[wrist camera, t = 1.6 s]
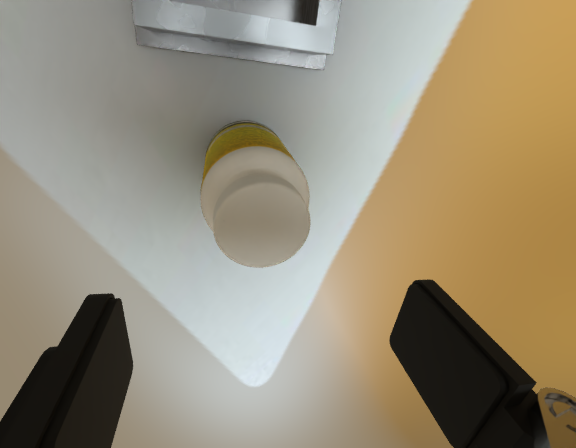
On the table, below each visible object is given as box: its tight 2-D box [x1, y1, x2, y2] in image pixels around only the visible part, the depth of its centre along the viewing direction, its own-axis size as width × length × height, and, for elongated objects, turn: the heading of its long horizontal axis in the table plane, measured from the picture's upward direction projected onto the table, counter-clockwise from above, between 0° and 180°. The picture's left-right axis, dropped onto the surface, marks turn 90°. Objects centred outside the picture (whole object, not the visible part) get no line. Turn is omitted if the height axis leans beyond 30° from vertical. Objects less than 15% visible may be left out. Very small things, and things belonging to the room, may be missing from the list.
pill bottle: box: [201, 121, 310, 267], centre depth 19 cm, size 6×6×11 cm
